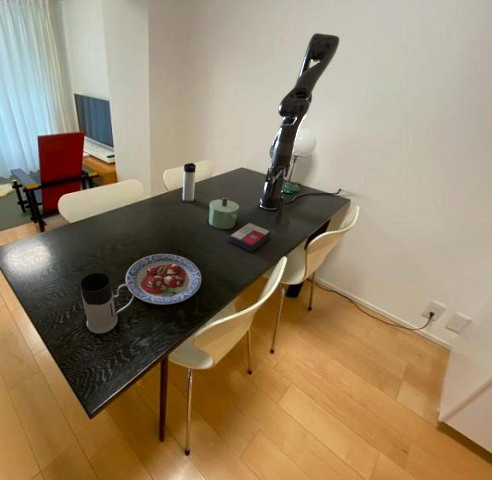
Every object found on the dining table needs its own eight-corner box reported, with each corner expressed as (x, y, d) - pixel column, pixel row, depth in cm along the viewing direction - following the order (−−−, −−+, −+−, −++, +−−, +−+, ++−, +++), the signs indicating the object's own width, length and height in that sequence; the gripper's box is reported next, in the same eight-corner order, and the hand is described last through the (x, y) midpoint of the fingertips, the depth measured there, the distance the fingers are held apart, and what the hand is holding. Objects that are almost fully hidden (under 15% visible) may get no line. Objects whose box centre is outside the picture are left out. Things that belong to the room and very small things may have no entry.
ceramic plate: (133, 257, 103) (132, 250, 101) (199, 259, 102) (199, 253, 101) (118, 307, 81) (117, 300, 79) (202, 310, 80) (203, 303, 79)
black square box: (229, 234, 111) (248, 221, 120) (228, 242, 114) (247, 229, 122) (252, 245, 105) (271, 230, 114) (251, 253, 107) (269, 238, 116)
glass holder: (90, 309, 80) (82, 271, 72) (137, 308, 81) (134, 270, 73) (83, 333, 73) (73, 294, 64) (135, 332, 73) (131, 292, 65)
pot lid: (227, 199, 131) (229, 190, 129) (244, 211, 121) (246, 201, 118) (204, 204, 126) (204, 194, 124) (219, 216, 116) (220, 206, 113)
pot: (222, 212, 137) (224, 197, 132) (243, 228, 123) (246, 212, 119) (201, 216, 132) (202, 201, 128) (220, 233, 119) (223, 217, 114)
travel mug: (195, 198, 151) (197, 163, 140) (191, 202, 146) (193, 167, 135) (185, 196, 153) (187, 162, 142) (180, 200, 148) (182, 165, 137)
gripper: (282, 156, 103) (272, 195, 112) (299, 151, 111) (289, 187, 120) (265, 152, 108) (257, 190, 116) (283, 147, 116) (274, 183, 125)
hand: (273, 189), depth 118 cm, fingers open, 8 cm apart
